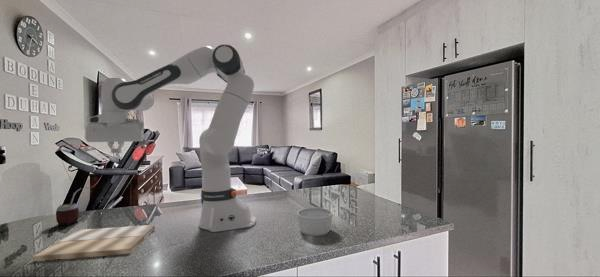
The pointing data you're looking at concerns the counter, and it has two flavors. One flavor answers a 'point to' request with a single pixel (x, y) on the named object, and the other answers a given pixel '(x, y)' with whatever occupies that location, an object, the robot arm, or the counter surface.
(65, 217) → the mate gourd
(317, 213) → the ramekin
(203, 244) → the counter surface
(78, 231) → the whitewashed plank
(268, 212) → the counter surface
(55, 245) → the laid oak row
